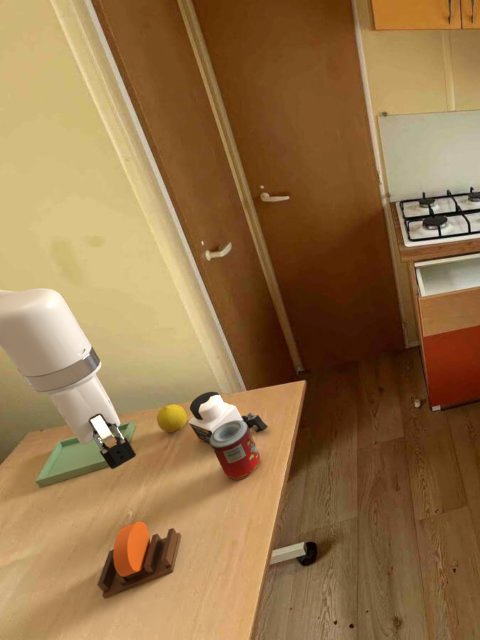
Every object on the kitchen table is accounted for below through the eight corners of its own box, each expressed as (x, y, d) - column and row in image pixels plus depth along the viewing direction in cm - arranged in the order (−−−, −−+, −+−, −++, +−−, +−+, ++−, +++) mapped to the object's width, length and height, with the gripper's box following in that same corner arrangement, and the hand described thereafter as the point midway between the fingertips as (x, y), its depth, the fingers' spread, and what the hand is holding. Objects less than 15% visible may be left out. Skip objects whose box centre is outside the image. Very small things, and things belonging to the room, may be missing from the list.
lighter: (246, 436, 106) (233, 421, 105) (253, 430, 108) (240, 415, 107) (261, 432, 102) (247, 416, 101) (268, 426, 104) (254, 410, 103)
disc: (127, 585, 74) (107, 560, 70) (141, 541, 80) (123, 516, 77) (141, 580, 75) (122, 555, 71) (154, 537, 81) (137, 512, 77)
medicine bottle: (199, 440, 102) (178, 407, 96) (225, 417, 108) (206, 384, 102) (221, 449, 100) (200, 416, 94) (246, 424, 106) (228, 392, 100)
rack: (104, 598, 74) (95, 588, 72) (117, 558, 79) (109, 548, 78) (173, 571, 77) (166, 561, 76) (181, 535, 83) (174, 524, 81)
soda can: (266, 466, 96) (251, 429, 90) (232, 488, 91) (213, 451, 86) (255, 448, 100) (239, 412, 95) (222, 468, 96) (203, 431, 90)
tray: (39, 487, 92) (34, 481, 91) (62, 447, 101) (57, 441, 100) (121, 462, 97) (117, 456, 96) (135, 426, 106) (132, 420, 105)
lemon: (158, 436, 103) (145, 413, 100) (179, 418, 108) (167, 396, 104) (176, 441, 102) (164, 417, 98) (197, 423, 107) (185, 400, 103)
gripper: (16, 358, 64) (71, 435, 72) (41, 411, 55) (100, 493, 63) (81, 333, 69) (126, 408, 77) (114, 378, 60) (160, 457, 68)
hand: (114, 446), depth 70 cm, fingers open, 9 cm apart
